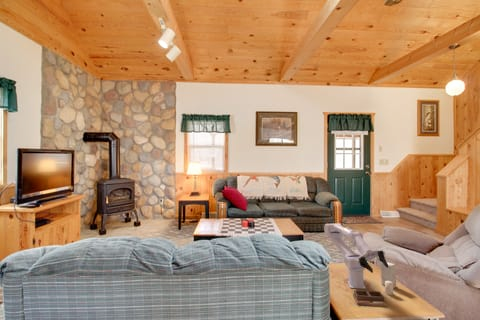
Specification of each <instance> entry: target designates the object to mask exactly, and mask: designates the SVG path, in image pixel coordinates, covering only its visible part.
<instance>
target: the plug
mask: <svg viewBox="0 0 480 320" xmlns="http://www.w3.org/2000/svg"><path fill="white" fill-rule="evenodd" d="M384 287H385V289H384V290H385V291H384V292H385V293H384V294H385V295H387V296H394V288H393V282H392V281H385V285H384Z"/></svg>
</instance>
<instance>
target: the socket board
mask: <svg viewBox="0 0 480 320" xmlns="http://www.w3.org/2000/svg"><path fill="white" fill-rule="evenodd" d="M352 297H353V299H354V301H355V303H356V305H357V306H371V307H388V304H387V302H386V301H385V297H384V295H383V294H382V292H381V291H377V290H376V291H375V290H359V289H358V290H357V289H354V290H353V293H352Z"/></svg>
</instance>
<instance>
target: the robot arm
mask: <svg viewBox="0 0 480 320" xmlns="http://www.w3.org/2000/svg"><path fill="white" fill-rule="evenodd" d="M323 230H324V233H325V235H326V236H327V237H328V238H329V240H330V241H331V243H332V244H333V245H334V246H335V247H336V248H337V249H338V250H339V252H340V253H341V254H342V255H343V257H344V258H343V262H344V264H345V266H346V268H347V269H348V279H347V280H346V282H347V284H348V286H349V288H350V289H362V290H366V289H367V287H366V285H365V283H364V280H365V279H364V277H365V276H364V271H365V270H367V271H369V272H370V273H372V274H373V273H374V269H373V268H372V266H371V265H370V264H369V263H368V261H373V260H374V259H375V258H377V257H378V260H379V262H380V263H383V264H384V265H385V266H386V267H387V268H388V264H387V262H388V261H387V260H386V258H385V257H386V256H385V254H386V252H385V251H384V249H383V248H382V249H372V248H371V247H370V246H369V244H368V243H367V242H366V241H365V240H364V236H363V233H362V232H361V231H355V230H353V229H351V228H350V227H348V226H347V227H344V226H342V223H340V222H338V223H325V224H324V226H323ZM342 238H345V239H347V241H348V243H349V244H350V245H352V246H354V247H355V248H356V249H357V251H358V252H359V253H357V252H354V251H353V250H352V249H351V248H350V247H349V246H348V244H347V243H346V242H345V241H344V240H343V239H342Z"/></svg>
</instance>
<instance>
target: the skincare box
mask: <svg viewBox="0 0 480 320" xmlns="http://www.w3.org/2000/svg"><path fill="white" fill-rule="evenodd" d="M386 262H387V264H388V268H387V267H386V266H385V265H384V264H383V263H382V262H380V275H381V278H380V279H381V285H382V286H385V281H392V282H393V289H394V288H396V287H397V277H396V276H397V273H396V272H397V271H396V264H395V263H391V262H388V261H386Z"/></svg>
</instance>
